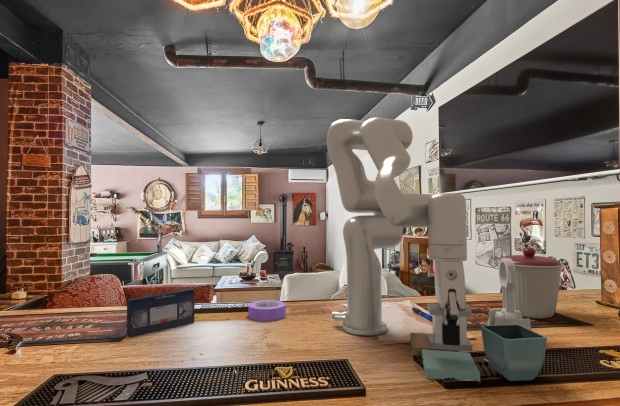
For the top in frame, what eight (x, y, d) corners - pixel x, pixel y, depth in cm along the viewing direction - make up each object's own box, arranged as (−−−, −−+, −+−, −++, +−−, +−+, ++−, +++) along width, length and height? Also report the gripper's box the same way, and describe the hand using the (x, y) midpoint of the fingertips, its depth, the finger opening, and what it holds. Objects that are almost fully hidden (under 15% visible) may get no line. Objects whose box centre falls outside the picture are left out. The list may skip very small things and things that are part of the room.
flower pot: (479, 367, 79) (479, 324, 79) (519, 365, 79) (518, 323, 79) (504, 387, 70) (504, 339, 70) (549, 385, 71) (548, 337, 71)
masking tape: (266, 309, 126) (265, 297, 126) (293, 314, 119) (293, 302, 119) (240, 317, 116) (240, 305, 116) (268, 324, 109) (268, 311, 109)
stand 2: (426, 378, 74) (425, 368, 74) (421, 358, 83) (421, 349, 83) (480, 382, 72) (480, 372, 72) (469, 361, 81) (469, 352, 81)
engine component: (493, 344, 92) (538, 346, 90) (492, 261, 92) (537, 262, 90) (482, 329, 102) (522, 332, 100) (481, 255, 103) (521, 256, 101)
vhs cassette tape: (129, 338, 98) (129, 300, 98) (125, 335, 100) (125, 298, 100) (195, 323, 110) (195, 289, 110) (191, 321, 112) (191, 288, 112)
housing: (467, 342, 79) (466, 304, 79) (472, 351, 74) (471, 311, 74) (428, 340, 81) (427, 303, 81) (430, 348, 76) (429, 309, 76)
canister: (489, 305, 127) (488, 244, 127) (546, 307, 125) (545, 244, 125) (510, 322, 109) (509, 250, 109) (577, 324, 107) (576, 251, 107)
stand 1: (412, 355, 85) (412, 347, 85) (410, 340, 95) (410, 332, 95) (458, 359, 83) (458, 350, 83) (451, 343, 92) (451, 335, 93)
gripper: (475, 257, 69) (477, 356, 68) (459, 248, 85) (460, 328, 85) (433, 257, 70) (435, 354, 70) (425, 248, 87) (426, 326, 87)
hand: (449, 338), depth 77 cm, fingers closed on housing, 5 cm apart
